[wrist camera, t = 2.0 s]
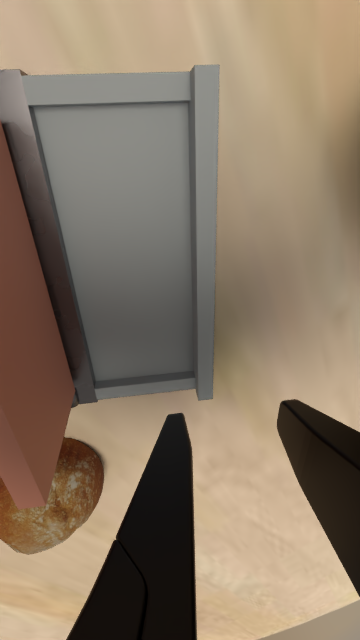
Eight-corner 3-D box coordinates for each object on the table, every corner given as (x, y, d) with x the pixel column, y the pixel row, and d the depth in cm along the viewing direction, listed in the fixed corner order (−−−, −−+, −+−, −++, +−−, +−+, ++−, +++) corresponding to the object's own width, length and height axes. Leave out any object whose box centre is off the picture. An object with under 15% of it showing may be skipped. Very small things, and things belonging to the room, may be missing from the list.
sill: (33, 78, 14) (15, 66, 12) (100, 382, 23) (96, 407, 21) (-17, 79, 14) (-45, 67, 12) (71, 386, 23) (64, 411, 21)
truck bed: (204, 79, 15) (219, 64, 12) (204, 369, 24) (212, 398, 21) (35, 84, 14) (10, 69, 11) (100, 380, 23) (94, 412, 20)
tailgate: (0, 119, 13) (-142, 91, 6) (75, 390, 20) (46, 505, 14) (-38, 120, 13) (-223, 93, 6) (52, 393, 20) (11, 510, 14)
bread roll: (63, 472, 33) (82, 553, 28) (-52, 492, 26) (-53, 605, 21) (105, 413, 30) (136, 494, 25) (-13, 418, 23) (-4, 532, 18)
